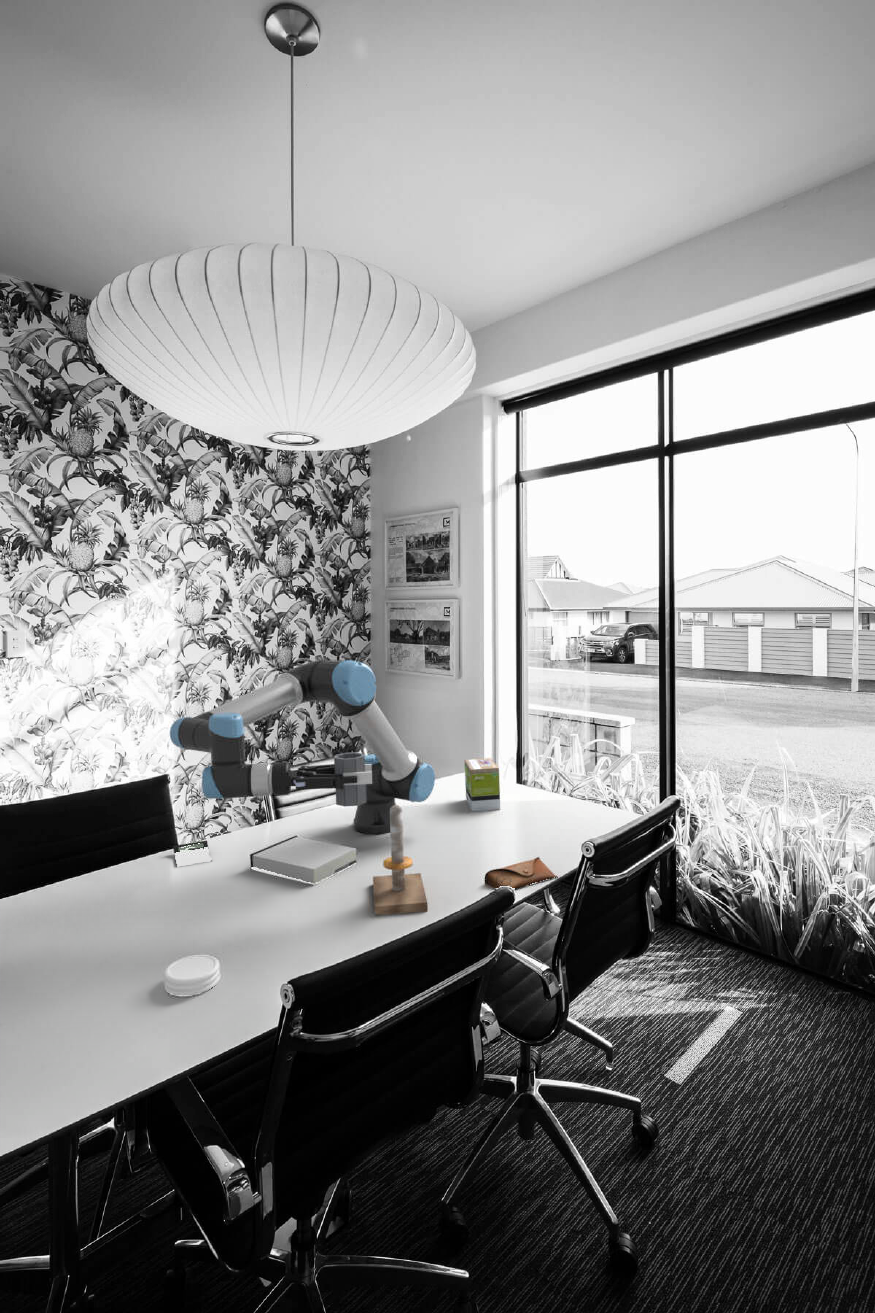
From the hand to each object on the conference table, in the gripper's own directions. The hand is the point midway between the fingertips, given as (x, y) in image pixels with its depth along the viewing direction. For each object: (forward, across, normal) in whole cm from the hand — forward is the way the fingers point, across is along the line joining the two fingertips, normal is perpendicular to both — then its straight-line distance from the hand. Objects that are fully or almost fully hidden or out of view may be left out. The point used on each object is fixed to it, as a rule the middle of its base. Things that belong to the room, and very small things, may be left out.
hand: (371, 773), depth 168 cm
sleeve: (-5, 0, -6) cm, 8 cm away
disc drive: (-19, -25, -31) cm, 45 cm away
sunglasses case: (+37, -6, -32) cm, 49 cm away
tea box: (+38, -74, -31) cm, 89 cm away
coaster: (-35, +32, -31) cm, 57 cm away
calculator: (-52, -38, -31) cm, 72 cm away
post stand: (+5, -1, -31) cm, 31 cm away
